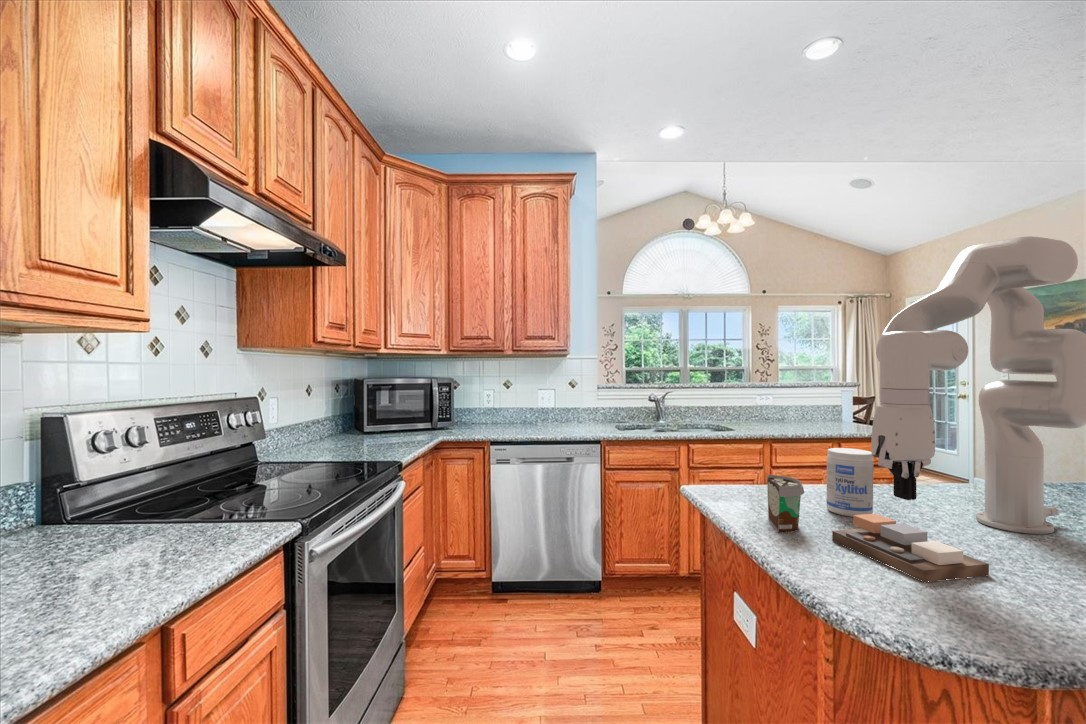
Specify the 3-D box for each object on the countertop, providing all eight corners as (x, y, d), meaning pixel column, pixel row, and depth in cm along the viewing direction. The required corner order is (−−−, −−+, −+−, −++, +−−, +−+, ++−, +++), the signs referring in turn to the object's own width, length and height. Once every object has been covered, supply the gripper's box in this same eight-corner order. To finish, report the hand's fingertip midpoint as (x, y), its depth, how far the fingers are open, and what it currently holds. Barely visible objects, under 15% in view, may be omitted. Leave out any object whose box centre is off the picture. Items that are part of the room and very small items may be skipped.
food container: (812, 536, 106) (812, 488, 106) (780, 534, 107) (780, 486, 107) (795, 518, 118) (795, 475, 118) (766, 517, 119) (766, 474, 119)
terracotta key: (874, 523, 104) (874, 513, 104) (896, 531, 99) (896, 521, 99) (853, 525, 103) (853, 515, 103) (873, 533, 98) (873, 522, 98)
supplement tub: (836, 517, 119) (835, 453, 119) (820, 506, 128) (819, 447, 128) (881, 519, 117) (881, 454, 117) (862, 507, 127) (861, 447, 127)
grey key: (902, 533, 98) (902, 523, 98) (927, 543, 93) (927, 531, 93) (880, 535, 97) (880, 525, 97) (904, 545, 92) (903, 533, 92)
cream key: (935, 551, 91) (935, 540, 91) (963, 562, 86) (963, 550, 86) (911, 554, 90) (911, 542, 90) (938, 565, 86) (938, 553, 86)
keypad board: (887, 536, 106) (887, 522, 106) (988, 575, 86) (988, 558, 86) (832, 540, 103) (832, 526, 103) (924, 582, 84) (924, 564, 84)
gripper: (917, 396, 100) (918, 490, 100) (853, 398, 96) (854, 495, 97) (956, 398, 93) (957, 500, 93) (888, 401, 89) (889, 506, 89)
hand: (904, 497), depth 95 cm, fingers closed
